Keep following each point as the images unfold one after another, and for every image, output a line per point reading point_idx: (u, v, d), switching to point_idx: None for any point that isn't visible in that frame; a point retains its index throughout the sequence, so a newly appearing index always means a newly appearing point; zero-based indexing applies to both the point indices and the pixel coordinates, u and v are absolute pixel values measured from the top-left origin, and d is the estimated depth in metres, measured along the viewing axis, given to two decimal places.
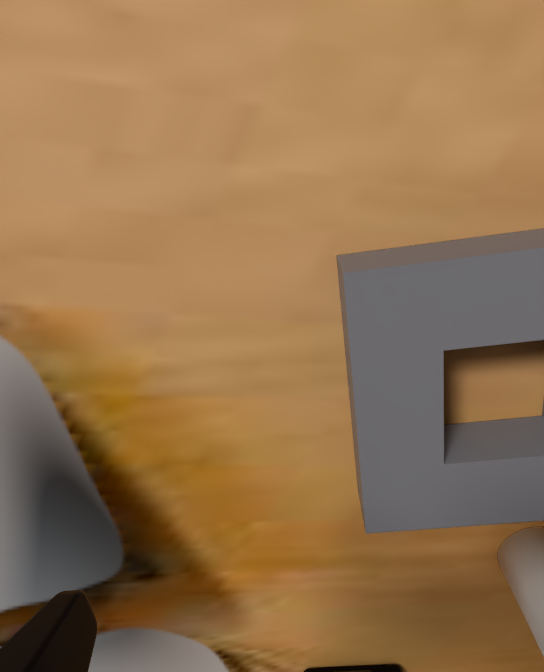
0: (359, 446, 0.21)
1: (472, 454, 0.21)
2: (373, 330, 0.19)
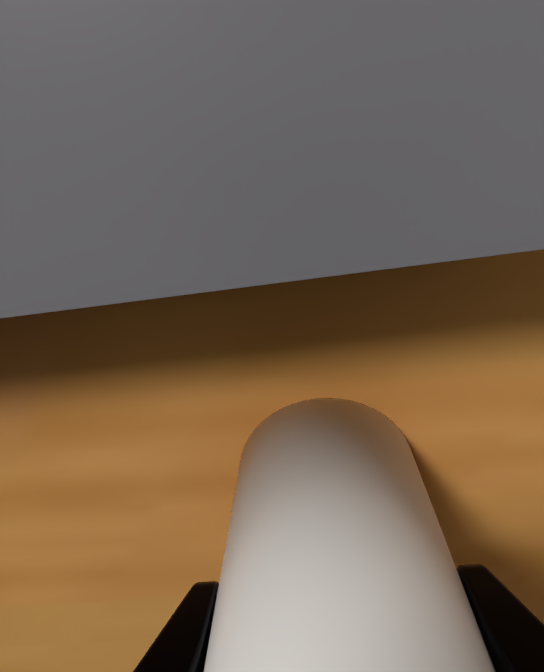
0: None
1: None
2: None
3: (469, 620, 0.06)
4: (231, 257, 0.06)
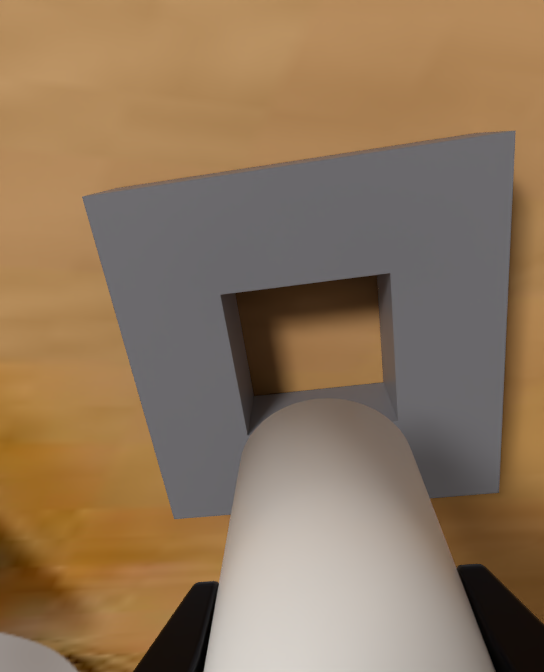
0: (145, 414, 0.17)
1: None
2: (133, 270, 0.15)
3: (470, 621, 0.06)
4: None
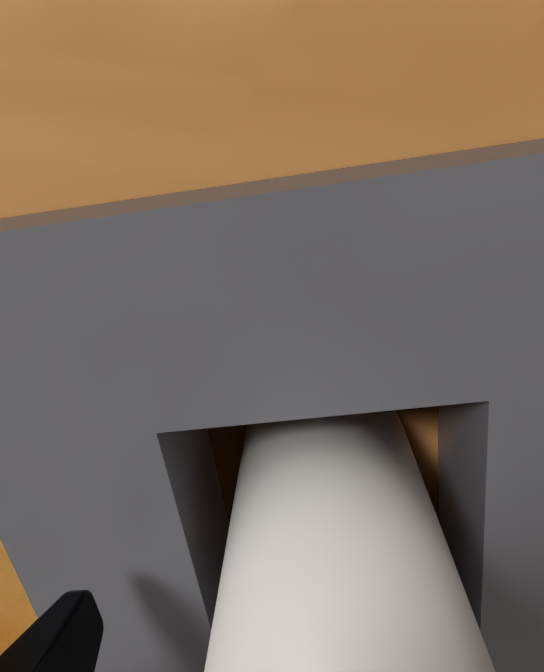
0: (38, 614, 0.10)
1: None
2: None
3: (447, 559, 0.07)
4: None
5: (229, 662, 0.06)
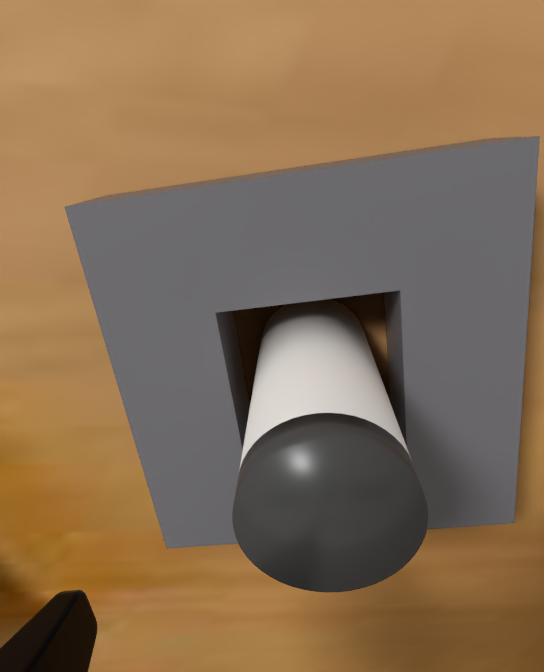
0: (135, 439, 0.16)
1: None
2: (121, 286, 0.14)
3: (374, 370, 0.13)
4: None
5: (262, 396, 0.12)
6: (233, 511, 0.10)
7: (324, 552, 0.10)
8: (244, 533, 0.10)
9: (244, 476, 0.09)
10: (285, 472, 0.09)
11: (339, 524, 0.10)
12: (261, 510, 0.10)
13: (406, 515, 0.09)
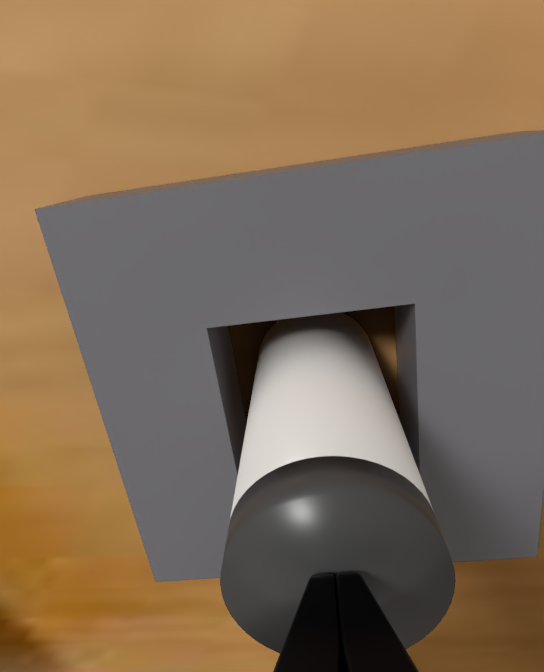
0: (119, 465, 0.15)
1: None
2: (100, 298, 0.13)
3: (386, 394, 0.12)
4: None
5: (258, 428, 0.10)
6: (221, 574, 0.08)
7: None
8: (234, 599, 0.08)
9: (234, 534, 0.08)
10: (283, 531, 0.08)
11: None
12: (256, 574, 0.08)
13: (428, 581, 0.08)
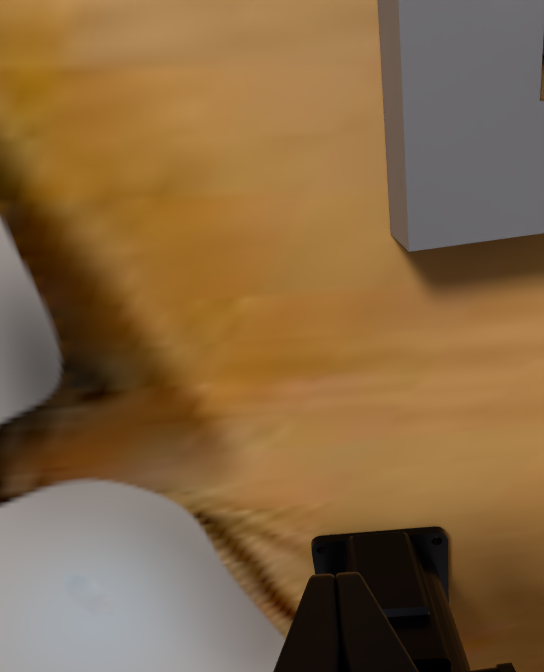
0: (403, 68, 0.13)
1: None
2: None
3: None
4: None
5: None
6: None
7: None
8: None
9: None
10: None
11: None
12: None
13: None
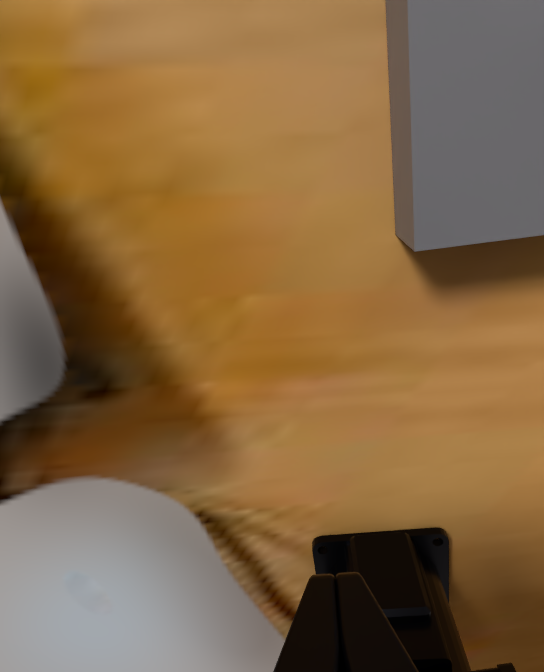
0: (411, 69, 0.13)
1: None
2: None
3: None
4: None
5: None
6: None
7: None
8: None
9: None
10: None
11: None
12: None
13: None
